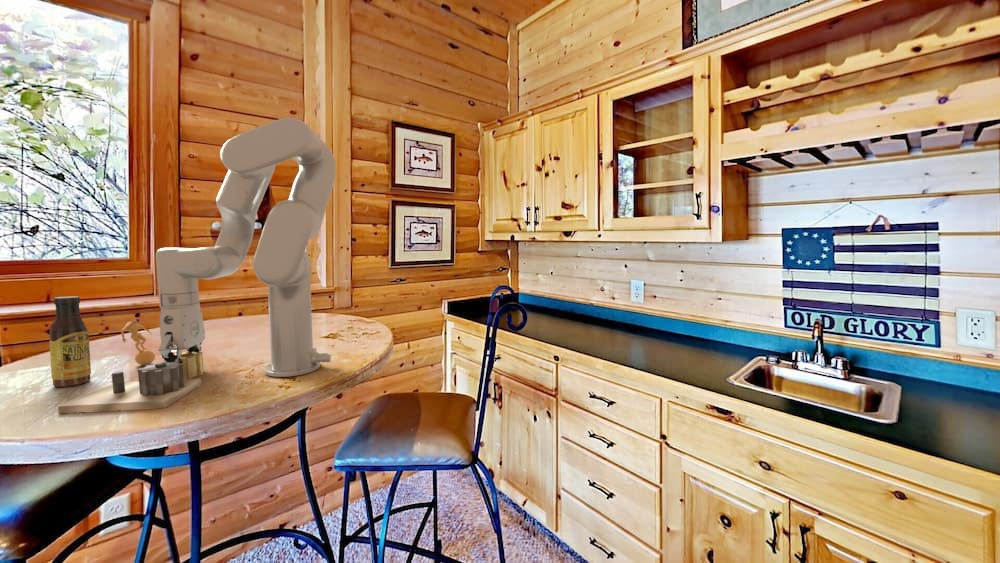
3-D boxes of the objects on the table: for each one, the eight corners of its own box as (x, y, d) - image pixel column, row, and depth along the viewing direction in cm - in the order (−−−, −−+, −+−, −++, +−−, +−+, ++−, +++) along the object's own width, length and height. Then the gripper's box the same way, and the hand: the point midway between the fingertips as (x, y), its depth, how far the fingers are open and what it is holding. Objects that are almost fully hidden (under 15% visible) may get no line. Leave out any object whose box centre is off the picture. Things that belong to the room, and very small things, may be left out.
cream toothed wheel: (209, 370, 105) (208, 350, 104) (193, 379, 98) (192, 359, 97) (177, 371, 103) (176, 351, 103) (159, 381, 96) (157, 360, 96)
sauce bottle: (67, 389, 91) (57, 299, 89) (44, 387, 92) (34, 298, 90) (100, 379, 98) (92, 295, 96) (79, 377, 99) (70, 294, 97)
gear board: (201, 384, 94) (198, 354, 94) (165, 407, 82) (162, 372, 81) (110, 389, 91) (107, 357, 91) (58, 414, 79) (54, 377, 78)
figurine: (139, 370, 105) (135, 323, 103) (115, 369, 105) (111, 322, 103) (165, 360, 113) (162, 316, 112) (143, 360, 113) (139, 316, 112)
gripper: (175, 305, 91) (181, 384, 93) (215, 294, 108) (219, 361, 110) (136, 306, 89) (143, 386, 91) (183, 295, 106) (188, 362, 108)
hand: (185, 372), depth 100 cm, fingers closed on cream toothed wheel, 7 cm apart
